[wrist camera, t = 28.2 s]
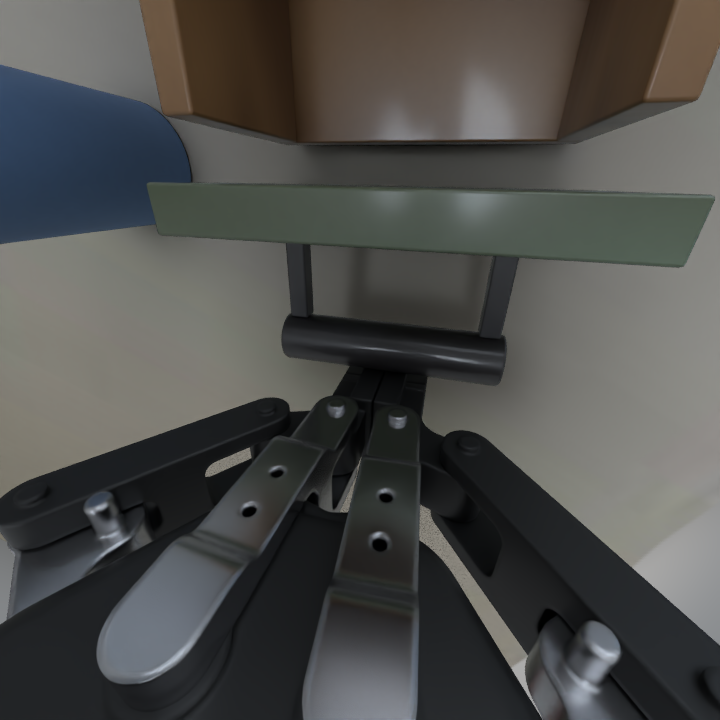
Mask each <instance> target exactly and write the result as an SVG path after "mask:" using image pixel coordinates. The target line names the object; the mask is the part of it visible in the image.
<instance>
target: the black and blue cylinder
mask: <svg viewBox="0 0 720 720" xmlns="http://www.w3.org/2000/svg"><path fill="white" fill-rule="evenodd" d="M149 182H174V183H191V172H190V166H189V162H188V158H187V155H186V152H185V149H184V147H183V144H182V142H181V140H180V139H179V137H178V135H177V133H176V132H175V130H174V129H173V127H172V126H171V125H170V124H169V122H168V121H167V120H166V119H165V118H164V117H163V116H162V115H161V114H160V113H159V112H157V111H156V110H155V109H154V108H152V107H150V106H149V105H147V104H145V103H142V102H140V101H136V100H132V99H128V98H125V97H121V96H117V95H113V94H109V93H106V92H102V91H98V90H94V89H91V88H87V87H83V86H79V85H75V84H72V83H68V82H64V81H60V80H57V79H53V78H49V77H45V76H41V75H38V74H34V73H30V72H26V71H23V70H19V69H15V68H11V67H8V66H4V65H0V244H4V243H11V242H19V241H27V240H35V239H43V238H51V237H58V236H66V235H74V234H82V233H90V232H98V231H106V230H113V229H121V228H129V227H137V226H145V225H153V224H156V222H155V218H154V214H153V210H152V206H151V202H150V198H149V194H148V190H147V183H149Z"/></svg>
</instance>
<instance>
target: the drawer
mask: <svg viewBox="0 0 720 720" xmlns="http://www.w3.org/2000/svg"><path fill="white" fill-rule="evenodd" d="M139 2H140V7H141V12H142V17H143V21H144V26H145V31H146V36H147V41H148V46H149V50H150V55H151V60H152V65H153V70H154V74H155V79H156V84H157V89H158V94H159V98H160V103H161V108H162V112H163V114H164V115H166V116H168V117H172V118H176V119H180V120H185V121H189V122H193V123H197V124H201V125H206V126H210V127H214V128H218V129H222V130H226V131H231V132H235V133H239V134H243V135H247V136H252V137H256V138H260V139H264V140H268V141H272V142H277V143H280V144H285V145H429V144H576V143H579V142H582V141H584V140H587V139H590V138H593V137H595V136H598V135H601V134H604V133H607V132H609V131H612V130H615V129H618V128H621V127H623V126H626V125H629V124H632V123H635V122H638V121H640V120H643V119H646V118H649V117H652V116H654V115H657V114H660V113H663V112H666V111H668V110H671V109H674V108H677V107H680V106H682V105H685V104H688V103H691V102H693V101H696V100H697V99H698V98H699V96H700V95H701V92H702V90H703V87H704V84H705V82H706V79H707V77H708V74H709V72H710V69H711V67H712V64H713V61H714V59H715V56H716V54H717V51H718V49H719V46H720V0H139ZM147 190H148V194H149V198H150V202H151V206H152V210H153V214H154V218H155V222H156V226H157V230H158V233H159V234H160V235H163V236H179V237H195V238H211V239H227V240H243V241H259V242H275V243H286V251H287V264H288V276H289V288H290V301H291V313H290V314H289V315H288V316H287V318H286V320H285V322H284V325H283V329H282V348H283V351H284V353H285V355H286V356H288V357H291V358H298V359H305V360H312V361H319V362H327V363H334V364H341V365H348V366H355V367H362V368H369V369H376V370H384V371H391V372H398V373H405V374H412V375H419V376H426V377H433V378H441V379H448V380H455V381H462V382H469V383H476V384H483V385H491V386H497V385H498V384H499V383H500V381H501V378H502V375H503V372H504V367H505V362H506V352H507V343H506V338H505V336H504V335H501V334H502V330H503V325H504V321H505V317H506V313H507V308H508V304H509V300H510V295H511V291H512V287H513V282H514V278H515V274H516V269H517V265H518V261H519V258H532V259H548V260H564V261H580V262H596V263H612V264H628V265H645V266H661V267H677V268H679V267H683V266H684V265H685V264H686V262H687V260H688V257H689V255H690V253H691V251H692V249H693V247H694V244H695V242H696V240H697V238H698V236H699V234H700V231H701V229H702V227H703V225H704V223H705V221H706V218H707V216H708V214H709V212H710V210H711V207H712V205H713V203H714V201H715V197H714V196H712V195H701V194H673V193H646V192H618V191H590V190H548V189H502V188H456V187H409V186H363V185H316V184H262V183H174V182H149V183H147ZM310 245H323V246H339V247H355V248H371V249H388V250H404V251H420V252H436V253H452V254H468V255H484V256H493V257H492V262H491V267H490V272H489V277H488V282H487V287H486V292H485V297H484V303H483V308H482V313H481V318H480V323H479V328H478V331H479V332H473V331H464V330H455V329H446V328H436V327H427V326H418V325H409V324H400V323H391V322H381V321H372V320H363V319H354V318H345V317H335V316H326V315H317V314H312V313H313V291H312V270H311V250H310Z"/></svg>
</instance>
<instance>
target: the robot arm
mask: <svg viewBox="0 0 720 720" xmlns="http://www.w3.org/2000/svg"><path fill="white" fill-rule="evenodd" d="M426 384H427V377H426V376H419V375H412V374H405V373H398V372H391V371H384V370H376V369H369V368H362V367H355V366H350V367H349V368H348V370H347V372H346V374H345V375H344V377H343V379H342V380H341V382H340V384H339V385H338V387H337V389H336V390H335V392H334V394H333V395H332V396H328V397H325V398H323V399H321V400H319V401H318V402H317V403H316V404H315V406H314V407H313V408H312V410H311V411H298V412H290V409H289V404H288V403H287V402H286V401H284V400H282V399H280V398H263V399H259V400H256V401H253V402H250V403H247V404H245V405H242V406H239V407H236V408H233V409H230V410H227V411H225V412H222V413H219V414H216V415H213V416H210V417H207V418H205V419H202V420H199V421H196V422H193V423H190V424H187V425H185V426H182V427H179V428H176V429H173V430H170V431H167V432H165V433H162V434H159V435H156V436H153V437H150V438H148V439H145V440H142V441H139V442H136V443H133V444H130V445H128V446H125V447H122V448H119V449H116V450H113V451H110V452H108V453H105V454H102V455H99V456H96V457H93V458H90V459H88V460H85V461H82V462H79V463H76V464H73V465H71V466H68V467H65V468H62V469H59V470H56V471H53V472H51V473H48V474H45V475H42V476H39V477H36V478H34V479H31V480H29V481H26V482H24V483H22V484H20V485H19V486H17V487H15V488H14V489H12V490H10V491H9V492H8V493H6V494H5V495H4V496H3V497H2V498H0V532H1V534H2V535H3V536H4V538H5V539H6V540H7V544H8V547H9V549H10V550H11V551H12V553H13V554H14V555H15V561H14V568H13V575H12V583H11V590H10V599H9V606H8V613H7V620H6V621H5V622H4V623H2V624H0V720H542V718H543V720H720V645H718V644H717V643H716V642H715V641H714V640H713V639H712V638H711V637H709V636H708V635H707V634H706V633H705V632H704V631H703V630H702V629H700V628H699V627H698V626H697V625H696V624H695V623H694V622H692V621H691V620H690V619H689V618H688V617H687V616H686V615H685V614H683V613H682V612H681V611H680V610H679V609H678V608H677V607H676V606H674V605H673V604H672V603H671V602H670V601H669V600H667V598H665V597H664V596H663V595H662V594H661V593H660V592H659V591H658V590H656V589H655V588H654V587H653V586H652V585H651V584H650V583H648V582H647V581H646V580H645V579H644V578H643V577H642V576H640V575H639V574H638V573H637V572H636V571H635V570H634V569H633V568H632V567H630V566H629V565H628V564H627V563H626V562H625V561H624V560H623V559H621V558H620V557H619V556H618V555H617V554H616V553H615V552H613V551H612V550H611V549H610V548H609V547H608V546H607V545H606V544H604V543H603V542H602V541H601V540H600V539H599V538H598V537H597V536H595V535H594V534H593V533H592V532H591V531H590V530H589V529H587V528H586V527H585V526H584V525H583V524H582V523H581V522H580V521H578V520H577V519H576V518H575V517H574V516H573V515H572V514H571V513H569V512H568V511H567V510H566V509H565V508H564V507H563V506H562V505H560V504H559V503H558V502H557V501H556V500H555V499H554V498H552V497H551V496H550V495H549V494H548V493H547V492H546V491H545V490H543V489H542V488H541V487H540V486H539V485H538V484H537V483H536V482H534V481H533V480H532V479H531V478H530V477H529V476H528V475H526V474H525V473H524V472H523V471H522V470H521V469H520V468H519V467H517V466H516V465H515V464H514V463H513V462H512V461H511V460H510V459H508V458H507V457H506V456H505V455H504V454H503V453H502V452H500V451H499V450H498V449H497V448H496V447H495V446H494V445H493V444H491V443H490V442H489V441H488V440H487V439H486V438H484V437H482V436H481V435H479V434H476V433H473V432H470V431H461V430H459V431H453V432H450V433H448V434H447V435H446V436H445V437H443V436H441V435H438V434H436V433H434V432H432V431H431V430H430V429H428V428H427V427H426V426H425V424H424V423H423V421H422V414H423V407H424V400H425V392H426ZM249 447H250V451H251V457H252V458H251V459H249V460H247V461H244V462H242V463H240V464H238V465H235V466H233V467H231V468H229V469H226V470H224V471H222V472H220V473H218V474H215V475H213V476H210V477H205V472H206V470H207V468H208V467H209V466H210V465H211V464H212V463H214V462H216V461H218V460H220V459H223V458H225V457H228V456H230V455H232V454H235V453H237V452H239V451H242V450H244V449H246V448H249ZM361 457H362V458H361ZM360 458H361V462H360V466H359V470H358V474H357V466H358V464H359V461H360ZM356 475H357V478H356V483H355V487H354V491H353V495H352V499H351V503H350V507H349V512H348V513H340V510H341V508H342V506H343V504H344V502H345V499H346V497H347V495H348V493H349V491H350V488H351V486H352V484H353V482H354V480H355V477H356ZM420 504H421V505H423V506H425V507H426V508H428V509H430V510H431V517H432V519H433V521H434V523H435V524H436V525H437V527H438V528H439V530H440V531H441V533H442V534H443V535H444V537H445V538H446V540H447V541H448V543H449V544H450V545H451V547H452V548H453V550H454V551H455V552H456V554H457V555H458V557H459V558H460V560H461V561H462V562H463V564H464V565H465V567H466V568H467V570H468V571H469V572H470V574H471V575H472V577H473V578H474V579H475V581H476V582H477V584H478V585H479V587H480V588H481V589H482V591H483V592H484V594H485V595H486V597H487V598H488V599H489V601H490V602H491V604H492V605H493V606H494V608H495V609H496V611H497V612H498V614H499V615H500V616H501V618H502V619H503V621H504V622H505V624H506V625H507V626H508V628H509V629H510V631H511V632H512V633H513V635H514V636H515V638H516V639H517V641H518V642H519V643H520V645H521V646H522V648H523V649H524V651H525V652H526V653H527V655H528V657H527V660H526V665H525V675H526V682H527V685H528V689H529V692H530V694H531V696H532V699H533V701H534V703H535V705H536V706H537V708H538V710H539V712H540V714H541V716H542V718H541V717H540V715H539V713H538V712H537V710H536V708H535V707H534V705H533V703H532V702H531V700H530V699H529V697H528V695H527V694H526V692H525V690H524V689H523V687H522V686H521V684H520V682H519V681H518V679H517V677H516V676H515V674H514V673H513V671H512V669H511V668H510V666H509V664H508V663H507V661H506V660H505V658H504V656H503V655H502V653H501V651H500V650H499V648H498V647H497V645H496V643H495V642H494V640H493V638H492V637H491V635H490V634H489V632H488V630H487V629H486V627H485V625H484V624H483V622H482V621H481V619H480V617H479V616H478V614H477V612H476V611H475V609H474V608H473V606H472V604H471V603H470V601H469V599H468V598H467V596H466V595H465V593H464V591H463V590H462V588H461V586H460V585H459V583H458V582H457V580H456V578H455V577H454V575H453V574H452V572H451V571H450V569H449V568H448V567H447V566H446V564H445V563H444V562H443V561H442V559H441V558H440V557H439V556H438V555H437V554H436V553H435V552H434V551H433V550H431V549H430V548H429V547H428V546H427V545H425V544H424V543H422V542H421V541H419V523H420Z"/></svg>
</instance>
